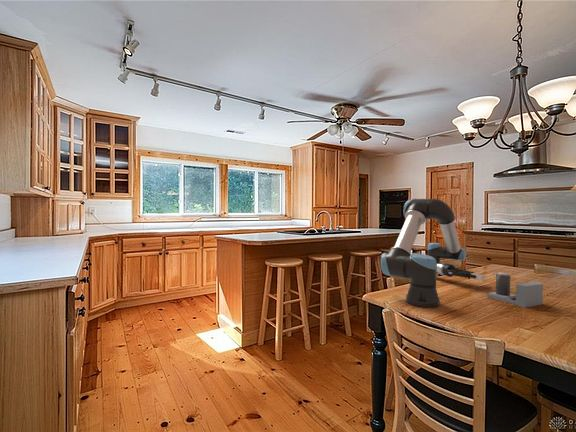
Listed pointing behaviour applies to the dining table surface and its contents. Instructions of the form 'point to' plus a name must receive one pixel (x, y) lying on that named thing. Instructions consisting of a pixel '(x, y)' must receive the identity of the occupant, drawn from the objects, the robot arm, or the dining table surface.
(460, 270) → the robot arm
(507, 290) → the knob
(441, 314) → the dining table surface
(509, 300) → the mount
